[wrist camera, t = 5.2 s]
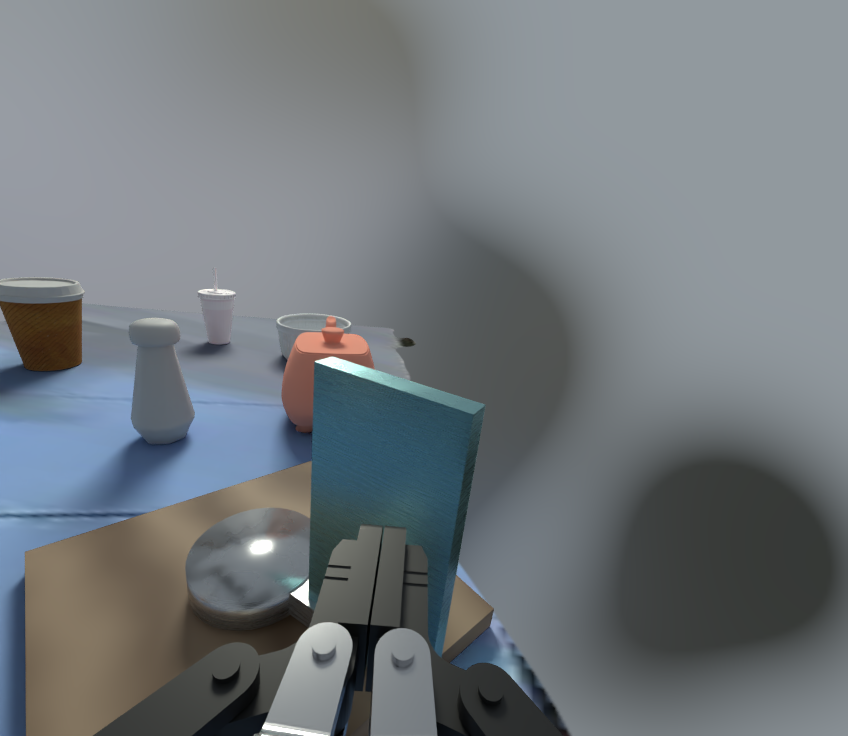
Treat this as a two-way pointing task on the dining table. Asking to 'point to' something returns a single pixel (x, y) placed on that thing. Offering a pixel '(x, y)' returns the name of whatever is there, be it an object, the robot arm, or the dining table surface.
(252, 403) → the dining table surface
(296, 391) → the teapot
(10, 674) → the dining table surface
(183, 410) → the salt shaker
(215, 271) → the smoothie
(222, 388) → the dining table surface
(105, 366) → the dining table surface
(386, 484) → the teal flat rectangular slab
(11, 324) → the disposable coffee cup
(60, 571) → the wooden cutting board
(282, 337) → the ramekin
